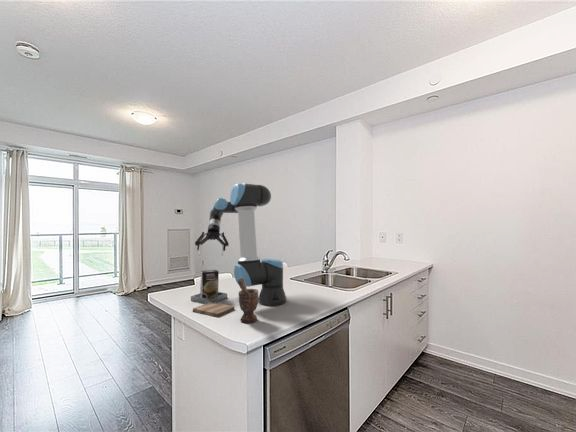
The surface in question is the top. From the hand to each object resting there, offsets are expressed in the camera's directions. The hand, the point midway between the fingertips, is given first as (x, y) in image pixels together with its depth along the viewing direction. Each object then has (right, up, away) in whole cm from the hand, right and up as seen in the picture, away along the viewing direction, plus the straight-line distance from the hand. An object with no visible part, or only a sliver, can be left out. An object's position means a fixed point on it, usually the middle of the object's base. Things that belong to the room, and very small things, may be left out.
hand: (210, 254), depth 163 cm
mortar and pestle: (+29, -23, -45) cm, 58 cm away
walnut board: (+10, -23, -30) cm, 39 cm away
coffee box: (+2, -24, -11) cm, 26 cm away
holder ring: (+2, -24, -11) cm, 26 cm away
